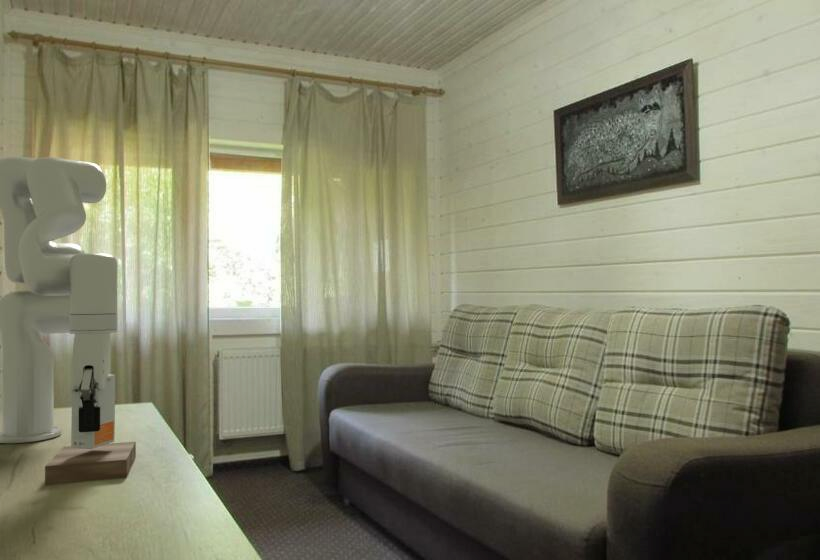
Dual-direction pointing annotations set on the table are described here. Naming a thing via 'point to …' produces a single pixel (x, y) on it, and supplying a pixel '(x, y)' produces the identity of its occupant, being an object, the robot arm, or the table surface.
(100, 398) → the skincare box
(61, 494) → the table surface
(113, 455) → the block
